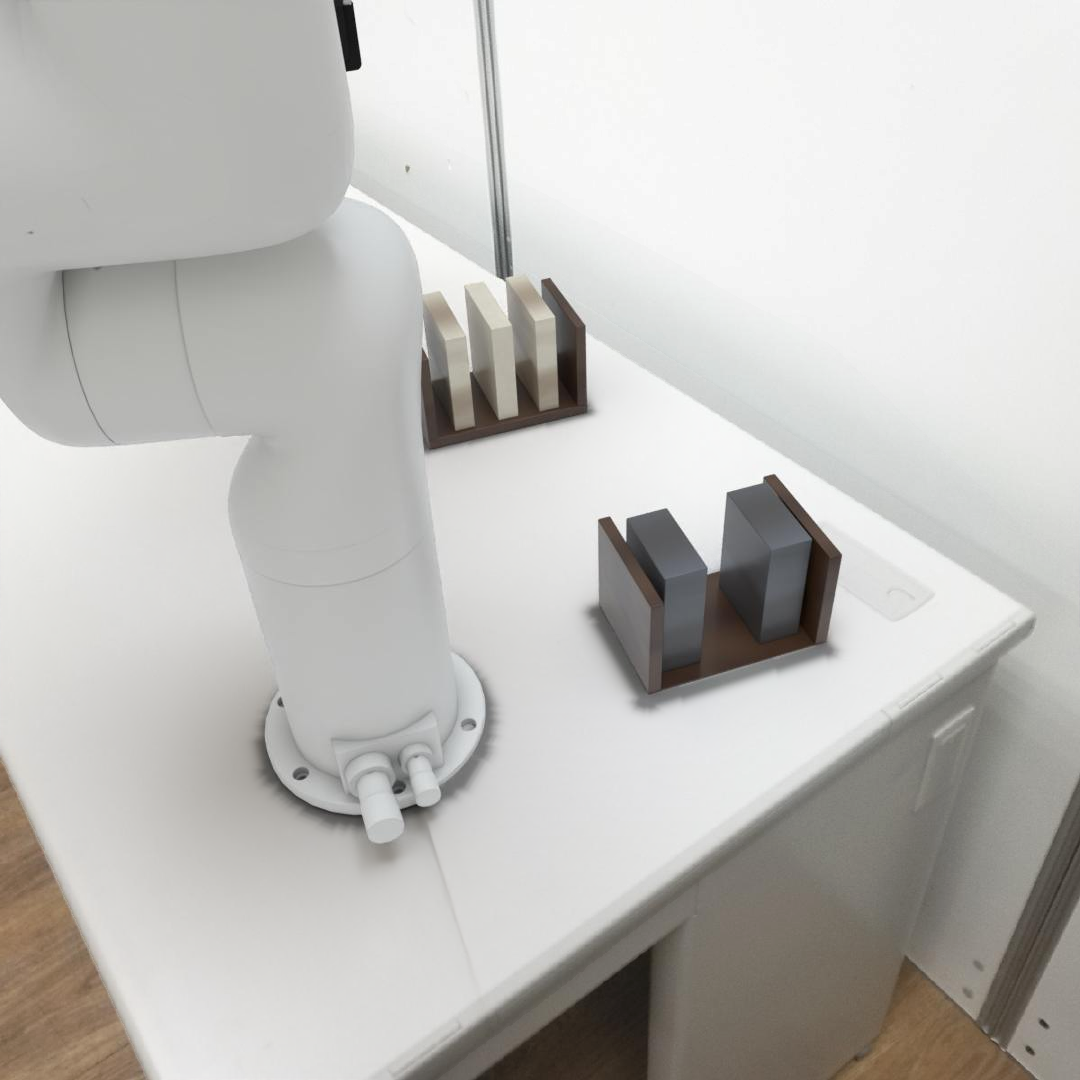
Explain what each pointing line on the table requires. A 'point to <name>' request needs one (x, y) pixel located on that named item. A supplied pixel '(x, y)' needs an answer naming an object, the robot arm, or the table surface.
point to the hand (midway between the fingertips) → (323, 49)
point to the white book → (491, 350)
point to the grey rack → (717, 588)
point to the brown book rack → (540, 366)
